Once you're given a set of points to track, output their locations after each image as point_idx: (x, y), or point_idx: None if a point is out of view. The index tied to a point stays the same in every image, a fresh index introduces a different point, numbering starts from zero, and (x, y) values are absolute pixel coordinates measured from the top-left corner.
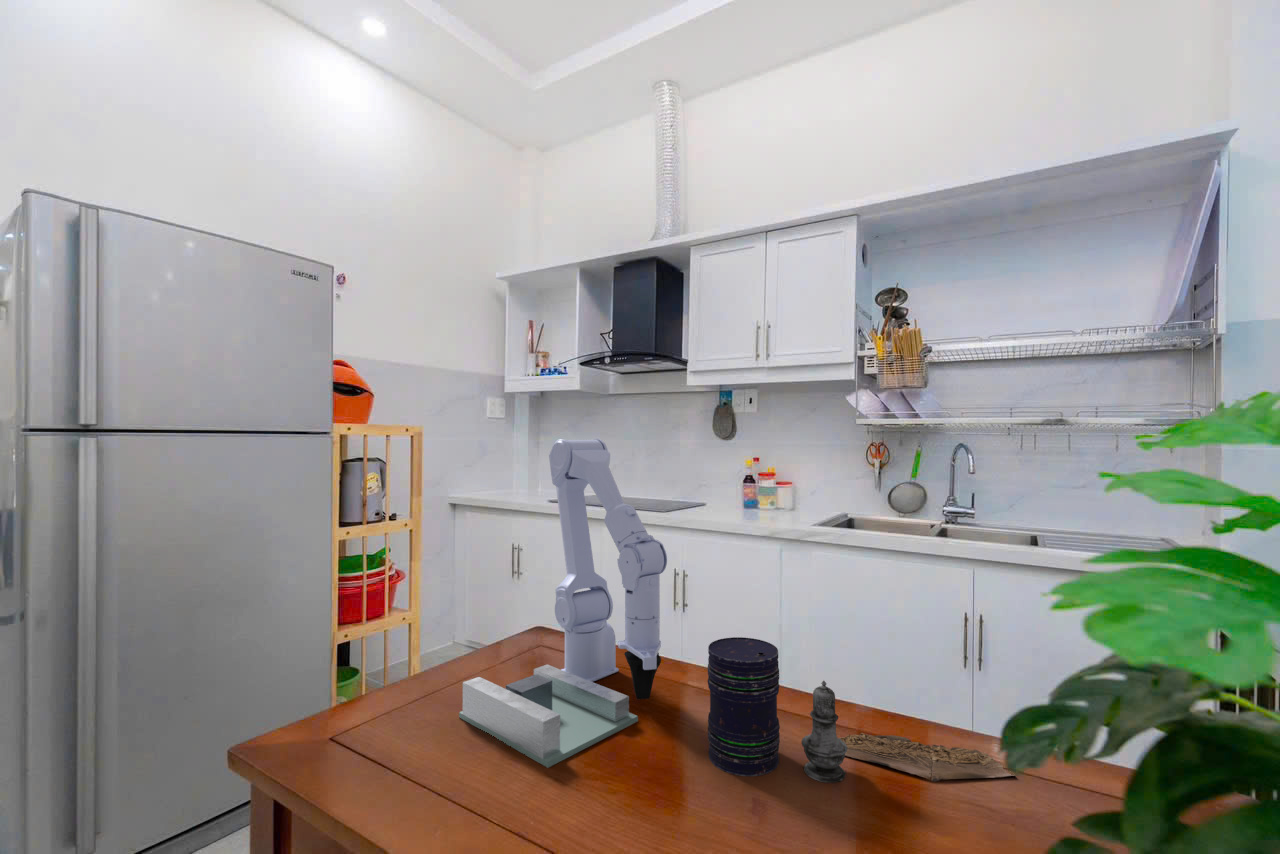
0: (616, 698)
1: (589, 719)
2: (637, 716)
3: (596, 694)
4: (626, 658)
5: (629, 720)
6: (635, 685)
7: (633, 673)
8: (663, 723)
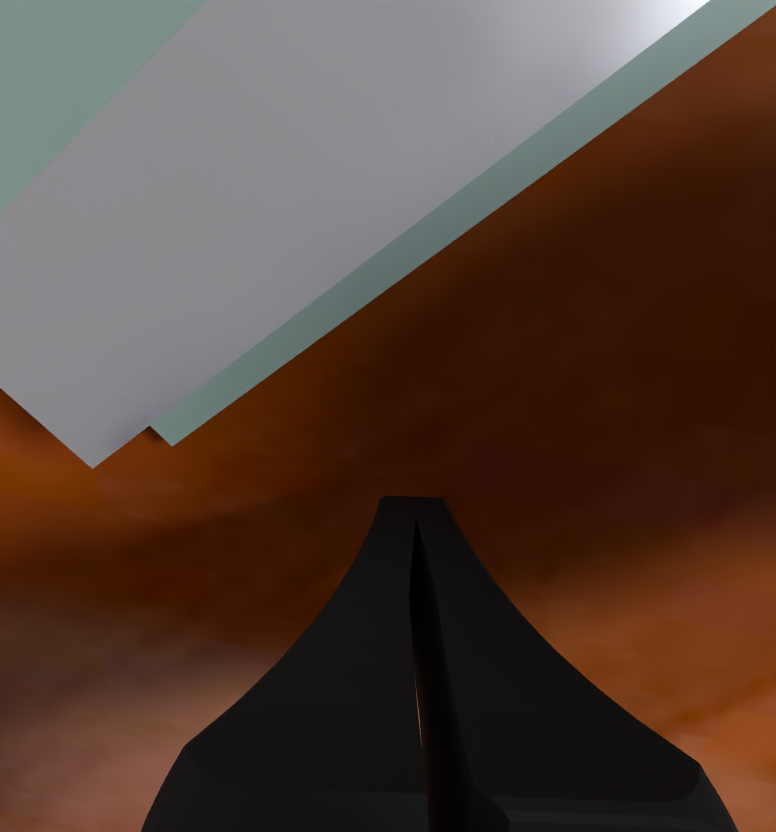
0: (26, 336)
1: (103, 1)
2: (168, 442)
3: (133, 82)
4: (327, 820)
5: None
6: (355, 565)
7: (279, 665)
8: (153, 557)
